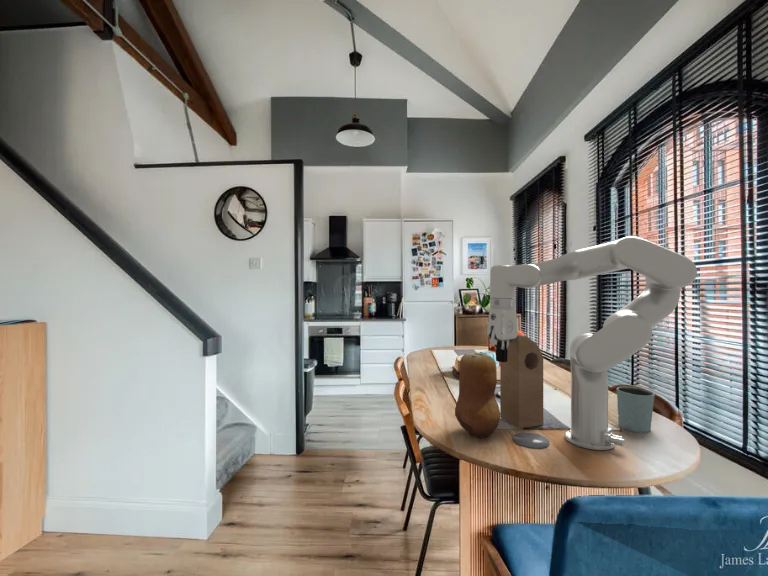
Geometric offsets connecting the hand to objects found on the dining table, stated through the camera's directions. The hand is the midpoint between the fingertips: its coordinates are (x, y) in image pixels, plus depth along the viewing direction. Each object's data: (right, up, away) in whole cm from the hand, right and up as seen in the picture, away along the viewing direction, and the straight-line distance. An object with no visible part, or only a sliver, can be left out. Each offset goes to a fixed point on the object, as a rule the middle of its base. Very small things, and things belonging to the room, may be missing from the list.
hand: (501, 361), depth 115 cm
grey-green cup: (+44, -22, +2) cm, 49 cm away
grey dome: (+6, -22, -8) cm, 24 cm away
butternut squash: (-9, -22, -3) cm, 24 cm away
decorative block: (+9, -22, +7) cm, 25 cm away
